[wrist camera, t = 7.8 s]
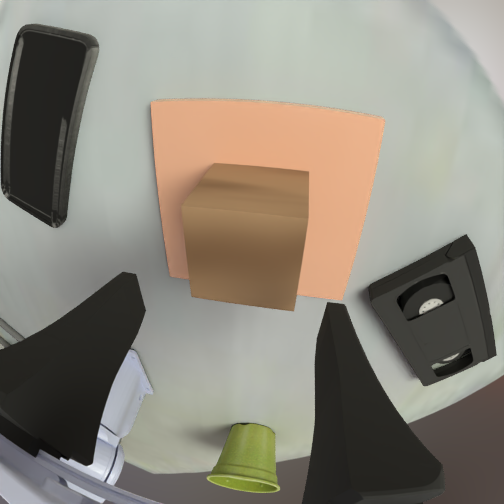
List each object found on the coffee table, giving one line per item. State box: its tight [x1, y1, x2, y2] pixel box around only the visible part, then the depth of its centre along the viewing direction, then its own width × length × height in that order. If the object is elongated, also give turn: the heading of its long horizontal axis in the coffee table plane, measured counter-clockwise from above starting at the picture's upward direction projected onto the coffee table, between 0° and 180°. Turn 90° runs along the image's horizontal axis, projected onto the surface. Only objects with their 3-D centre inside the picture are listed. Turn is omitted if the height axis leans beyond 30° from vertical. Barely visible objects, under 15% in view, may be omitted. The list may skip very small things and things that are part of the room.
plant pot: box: [207, 423, 280, 493], centre depth 35 cm, size 9×9×9 cm
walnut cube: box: [181, 163, 309, 311], centre depth 15 cm, size 5×5×5 cm
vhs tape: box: [369, 234, 496, 386], centre depth 21 cm, size 14×8×2 cm, turn 40°
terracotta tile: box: [151, 98, 385, 300], centre depth 18 cm, size 12×12×1 cm
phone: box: [1, 24, 99, 228], centre depth 17 cm, size 8×1×15 cm
